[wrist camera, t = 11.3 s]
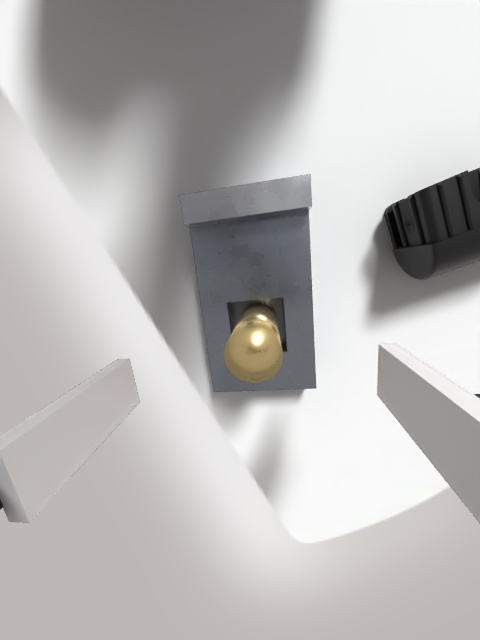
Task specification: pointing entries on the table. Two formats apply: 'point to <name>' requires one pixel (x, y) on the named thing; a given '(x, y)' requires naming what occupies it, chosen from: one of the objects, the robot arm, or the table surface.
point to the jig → (255, 272)
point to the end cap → (437, 226)
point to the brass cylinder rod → (254, 345)
